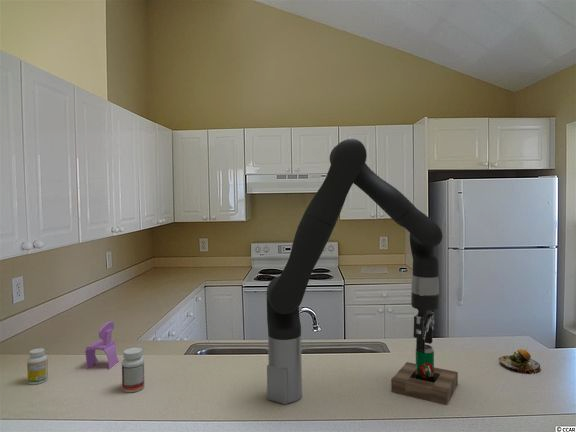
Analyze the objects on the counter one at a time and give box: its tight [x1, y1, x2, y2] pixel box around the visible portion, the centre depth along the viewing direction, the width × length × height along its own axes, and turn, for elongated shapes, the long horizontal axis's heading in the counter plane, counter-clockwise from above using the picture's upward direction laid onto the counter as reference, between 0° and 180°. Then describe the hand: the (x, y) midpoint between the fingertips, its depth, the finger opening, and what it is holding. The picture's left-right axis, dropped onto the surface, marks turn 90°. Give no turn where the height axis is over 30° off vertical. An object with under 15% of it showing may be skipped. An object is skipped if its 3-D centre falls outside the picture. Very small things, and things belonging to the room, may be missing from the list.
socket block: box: [390, 361, 459, 406], centre depth 120 cm, size 15×15×4 cm
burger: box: [498, 348, 541, 375], centre depth 134 cm, size 12×12×8 cm
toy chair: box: [84, 320, 120, 370], centre depth 140 cm, size 8×9×15 cm
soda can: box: [415, 343, 435, 383], centre depth 120 cm, size 5×5×12 cm
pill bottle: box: [121, 347, 145, 393], centre depth 122 cm, size 6×6×11 cm
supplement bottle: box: [26, 347, 49, 385], centre depth 128 cm, size 5×5×10 cm
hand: (424, 347), depth 119 cm, fingers open, 8 cm apart
